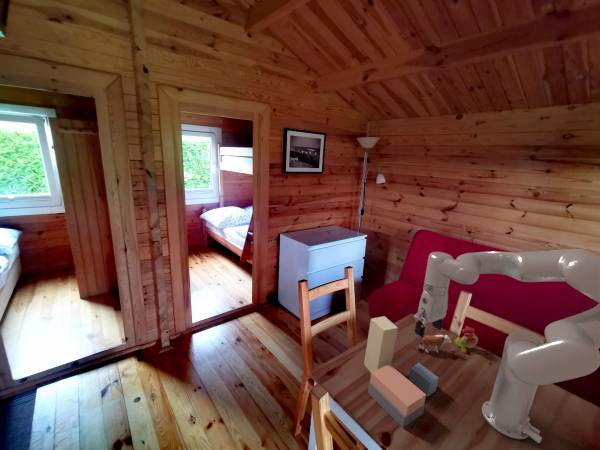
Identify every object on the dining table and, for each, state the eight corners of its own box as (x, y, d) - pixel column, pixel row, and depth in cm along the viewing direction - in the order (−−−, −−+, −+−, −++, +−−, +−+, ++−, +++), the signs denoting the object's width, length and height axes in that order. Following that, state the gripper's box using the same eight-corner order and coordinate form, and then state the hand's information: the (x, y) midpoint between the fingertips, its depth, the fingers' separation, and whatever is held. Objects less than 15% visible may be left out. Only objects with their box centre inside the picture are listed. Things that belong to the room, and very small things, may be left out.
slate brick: (435, 391, 98) (438, 377, 97) (427, 397, 96) (430, 382, 94) (416, 376, 105) (419, 362, 104) (408, 380, 102) (410, 367, 101)
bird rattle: (463, 347, 127) (448, 341, 125) (476, 327, 125) (462, 321, 123) (473, 356, 121) (458, 350, 119) (487, 336, 119) (472, 329, 117)
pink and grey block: (422, 413, 89) (427, 394, 87) (402, 428, 84) (406, 407, 82) (387, 381, 101) (390, 363, 99) (367, 392, 96) (370, 373, 94)
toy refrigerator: (391, 375, 105) (399, 327, 100) (376, 379, 102) (383, 330, 97) (378, 360, 112) (385, 315, 107) (363, 364, 109) (370, 318, 104)
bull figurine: (450, 354, 118) (454, 338, 116) (419, 352, 118) (422, 336, 116) (445, 348, 122) (448, 332, 120) (415, 346, 122) (418, 330, 120)
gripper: (429, 297, 87) (421, 344, 91) (460, 287, 95) (452, 330, 99) (409, 287, 93) (403, 331, 97) (441, 279, 101) (433, 319, 105)
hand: (427, 331), depth 98 cm, fingers open, 9 cm apart
